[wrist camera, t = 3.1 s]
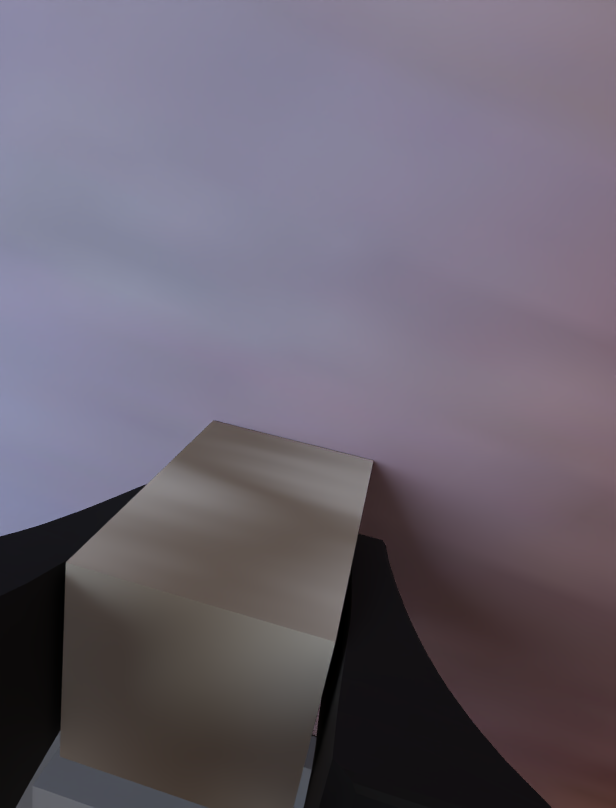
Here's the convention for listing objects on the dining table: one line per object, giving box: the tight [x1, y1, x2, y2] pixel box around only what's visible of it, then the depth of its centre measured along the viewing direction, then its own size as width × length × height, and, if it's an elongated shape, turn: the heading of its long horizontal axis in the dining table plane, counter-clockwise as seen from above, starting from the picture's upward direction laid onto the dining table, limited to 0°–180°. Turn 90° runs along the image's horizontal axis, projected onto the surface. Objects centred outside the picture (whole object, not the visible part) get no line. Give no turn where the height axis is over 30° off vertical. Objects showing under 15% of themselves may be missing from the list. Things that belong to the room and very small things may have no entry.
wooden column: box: [60, 421, 373, 808], centre depth 11 cm, size 4×4×6 cm
